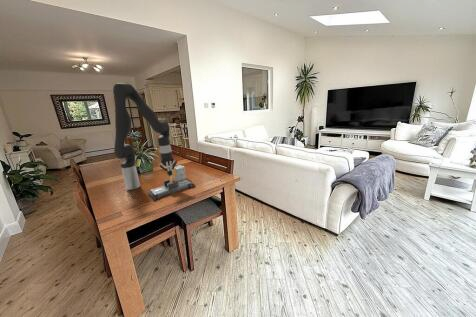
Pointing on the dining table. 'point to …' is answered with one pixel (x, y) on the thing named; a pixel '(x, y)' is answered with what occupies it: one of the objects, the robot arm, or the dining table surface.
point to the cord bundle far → (191, 185)
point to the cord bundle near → (153, 196)
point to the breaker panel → (165, 189)
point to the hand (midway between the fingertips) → (170, 175)
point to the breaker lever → (173, 175)
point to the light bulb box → (179, 173)
